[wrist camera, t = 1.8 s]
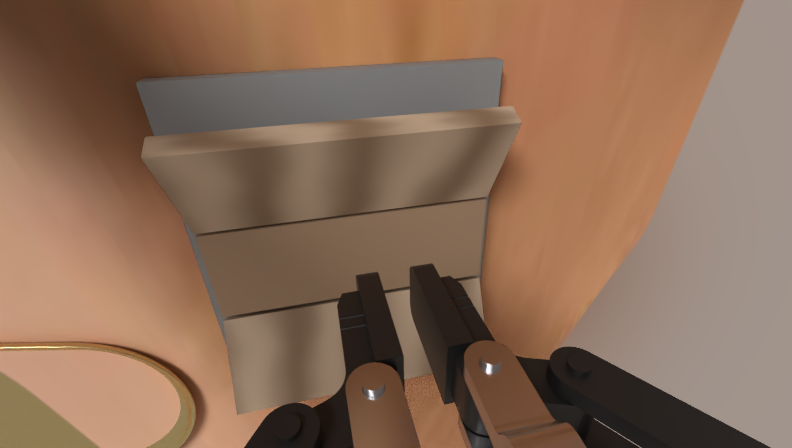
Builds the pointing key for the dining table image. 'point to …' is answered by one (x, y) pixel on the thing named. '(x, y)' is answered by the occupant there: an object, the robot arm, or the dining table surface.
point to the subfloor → (339, 235)
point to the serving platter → (48, 431)
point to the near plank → (330, 166)
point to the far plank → (311, 349)
